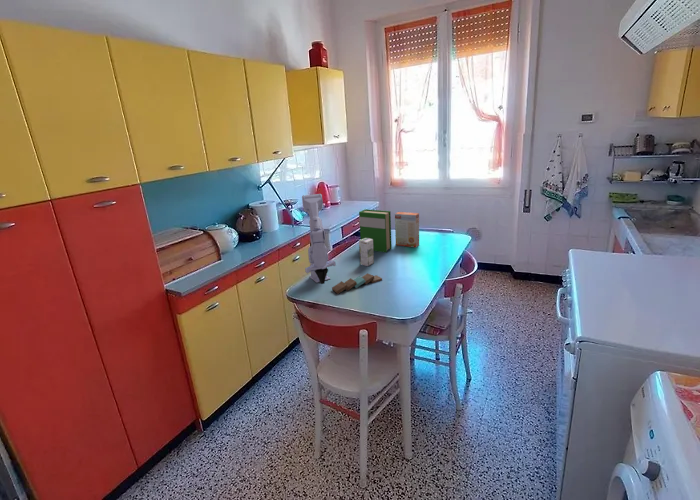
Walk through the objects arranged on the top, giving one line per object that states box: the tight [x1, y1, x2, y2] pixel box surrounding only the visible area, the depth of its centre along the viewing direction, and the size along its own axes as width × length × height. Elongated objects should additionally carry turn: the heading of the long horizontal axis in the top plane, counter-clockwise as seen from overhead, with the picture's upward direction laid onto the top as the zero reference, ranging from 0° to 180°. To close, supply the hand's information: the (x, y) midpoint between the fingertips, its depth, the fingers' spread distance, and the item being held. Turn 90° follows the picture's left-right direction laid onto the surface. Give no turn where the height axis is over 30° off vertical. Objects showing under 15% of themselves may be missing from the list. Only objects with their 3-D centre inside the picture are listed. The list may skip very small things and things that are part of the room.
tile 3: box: [361, 272, 375, 285], centre depth 183 cm, size 2×5×6 cm
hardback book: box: [358, 208, 393, 253], centre depth 225 cm, size 18×7×24 cm, turn 58°
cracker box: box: [394, 211, 420, 248], centre depth 228 cm, size 14×6×21 cm, turn 58°
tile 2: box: [344, 278, 357, 292], centre depth 178 cm, size 2×5×6 cm
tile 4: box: [369, 274, 383, 284], centre depth 185 cm, size 2×5×6 cm
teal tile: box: [353, 275, 366, 289], centre depth 180 cm, size 2×5×6 cm
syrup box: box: [358, 238, 375, 267], centre depth 203 cm, size 6×6×14 cm
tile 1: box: [331, 281, 348, 295], centre depth 175 cm, size 2×5×6 cm
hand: (322, 283), depth 170 cm, fingers closed
